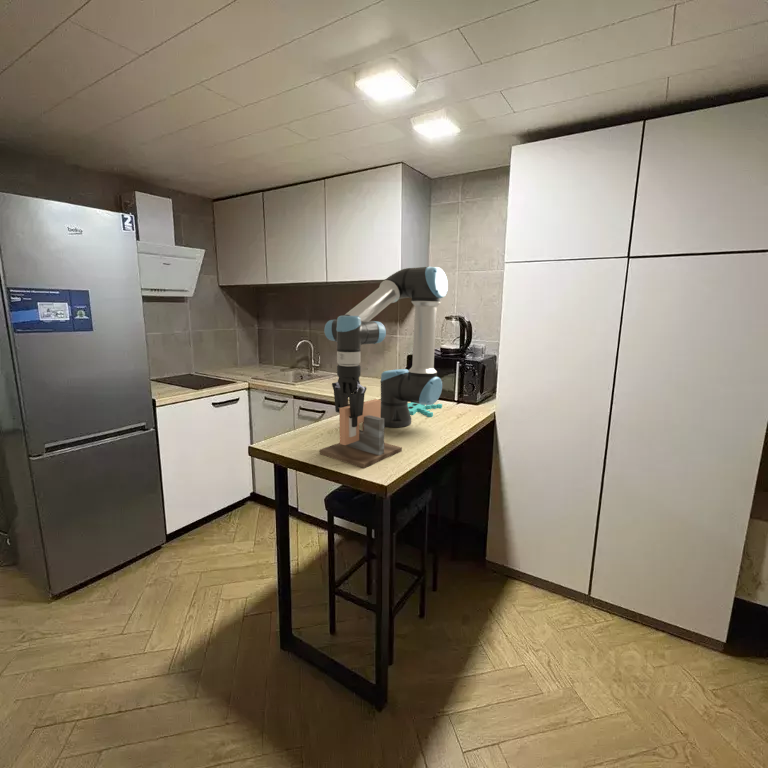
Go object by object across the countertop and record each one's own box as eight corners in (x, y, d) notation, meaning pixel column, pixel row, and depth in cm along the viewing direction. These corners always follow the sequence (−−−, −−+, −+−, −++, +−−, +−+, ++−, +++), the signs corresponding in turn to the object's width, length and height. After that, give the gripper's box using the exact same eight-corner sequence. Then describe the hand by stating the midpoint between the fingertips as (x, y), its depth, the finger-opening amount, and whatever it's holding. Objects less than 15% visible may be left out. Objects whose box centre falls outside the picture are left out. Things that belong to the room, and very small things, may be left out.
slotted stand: (359, 439, 158) (359, 404, 156) (401, 451, 146) (402, 413, 143) (319, 453, 143) (319, 415, 140) (363, 468, 130) (363, 426, 128)
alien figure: (442, 408, 209) (404, 404, 216) (442, 404, 209) (404, 400, 216) (431, 418, 191) (390, 413, 198) (431, 413, 190) (390, 409, 198)
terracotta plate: (374, 431, 151) (375, 399, 149) (380, 432, 149) (380, 400, 147) (339, 443, 137) (339, 408, 135) (345, 445, 135) (345, 409, 133)
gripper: (323, 363, 136) (324, 433, 140) (359, 368, 126) (358, 442, 130) (339, 361, 141) (340, 428, 146) (375, 365, 132) (374, 437, 136)
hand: (348, 434), depth 138 cm, fingers closed on terracotta plate, 2 cm apart
